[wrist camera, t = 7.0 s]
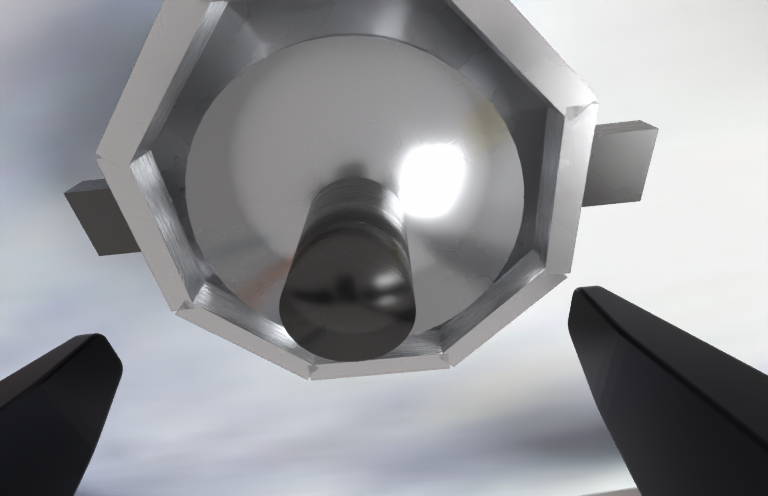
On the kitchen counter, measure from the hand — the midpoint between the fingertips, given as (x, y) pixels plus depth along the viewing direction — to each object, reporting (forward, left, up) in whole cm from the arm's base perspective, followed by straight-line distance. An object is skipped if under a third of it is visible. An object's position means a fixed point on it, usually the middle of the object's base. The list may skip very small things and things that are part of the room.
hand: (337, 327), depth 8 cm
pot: (0, 0, -11) cm, 11 cm away
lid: (0, 0, -6) cm, 6 cm away
